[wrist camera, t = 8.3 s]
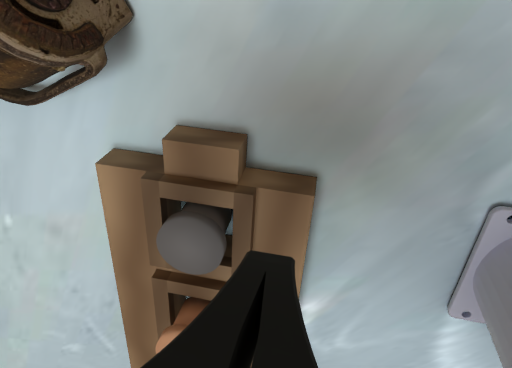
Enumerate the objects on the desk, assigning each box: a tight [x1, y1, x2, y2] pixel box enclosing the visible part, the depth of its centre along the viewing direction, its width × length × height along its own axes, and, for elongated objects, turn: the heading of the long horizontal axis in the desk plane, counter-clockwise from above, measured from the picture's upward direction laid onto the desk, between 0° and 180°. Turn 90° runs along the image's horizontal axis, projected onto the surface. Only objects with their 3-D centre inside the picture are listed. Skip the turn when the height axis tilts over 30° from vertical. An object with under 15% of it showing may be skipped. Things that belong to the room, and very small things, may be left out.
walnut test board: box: [95, 125, 317, 368], centre depth 26 cm, size 12×24×3 cm, turn 177°
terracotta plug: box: [155, 297, 210, 354], centre depth 24 cm, size 4×4×3 cm
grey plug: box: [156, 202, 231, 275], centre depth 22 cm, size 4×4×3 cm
